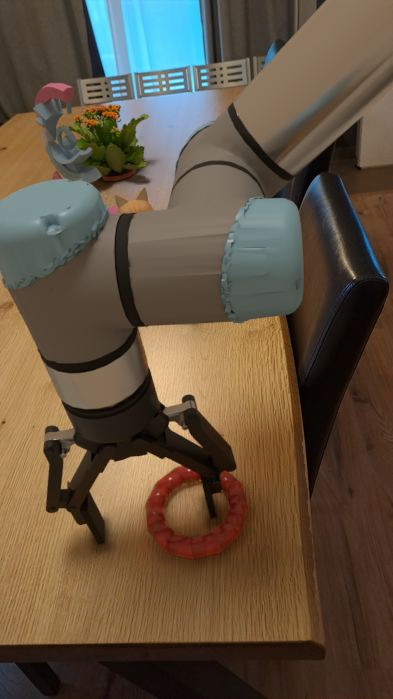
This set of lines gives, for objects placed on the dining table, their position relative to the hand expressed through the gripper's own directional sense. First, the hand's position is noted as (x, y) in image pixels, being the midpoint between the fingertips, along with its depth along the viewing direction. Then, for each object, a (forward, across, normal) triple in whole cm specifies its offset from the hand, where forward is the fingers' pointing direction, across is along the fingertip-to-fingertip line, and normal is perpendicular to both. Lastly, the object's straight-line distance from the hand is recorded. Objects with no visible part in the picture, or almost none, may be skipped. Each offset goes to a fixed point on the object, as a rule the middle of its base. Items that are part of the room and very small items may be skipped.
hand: (156, 520), depth 54 cm
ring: (-1, -4, 0) cm, 5 cm away
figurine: (0, -4, -53) cm, 53 cm away
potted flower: (0, 0, -104) cm, 104 cm away
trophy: (0, +8, -72) cm, 73 cm away
